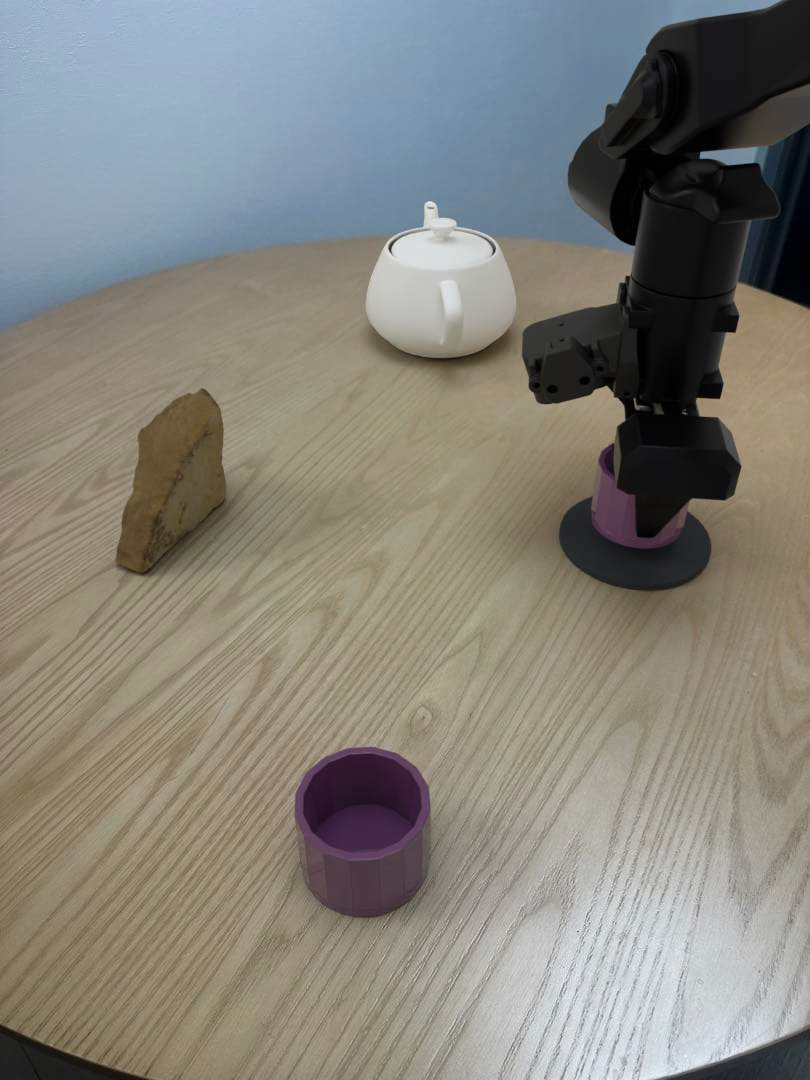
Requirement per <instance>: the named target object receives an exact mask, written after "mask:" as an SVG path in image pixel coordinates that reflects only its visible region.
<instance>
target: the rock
mask: <svg viewBox="0 0 810 1080" xmlns="http://www.w3.org/2000/svg"><path fill="white" fill-rule="evenodd" d="M224 430H225V429H224V422H223V416H222V410H221V407H220V406H219V404H218V403H217V401H216V400H215V399H214V397H213V396H212V395H211V393H210V392H209V391H208V390H206V389H205V388H203V387H201V388H199V389H198V390H197V391H196V392H195V393H190V392H187V393H185V394H183V395H180V396H179V397H176V398H174V399H173V400H172V401H171V402H170V403H169V404H168V405H167V406H165V407H164V408H163V409H162V411H160V412H159V413H157V414H155V416H154V417H153V418H152V420H151V421H150V422H149V423H147V424H146V426H144V427H141V428H140V430H139V431H138V434H137V440H136V441H137V443H138V459H137V463H136V466H135V470H134V477H133V480H132V493H131V495H130V497H129V498H128V499H127V501H126V502H125V505H124V509H123V511H122V515H121V516H122V517H121V522H120V523H121V524H120V525H121V533H120V536H119V539H118V542H117V546H116V556H115V559H114V562H115V563H116V564H117V565H119V566H123V567H124V568H127V569H129V570H131V571H133V572H136V573H140V574H141V573H143V574H144V573H145V572H147V571H148V570H149V569H151V568H152V567H153V566H154V565H155V564H156V563H157V562H158V561H159V559H161V558H162V556H163V555H164V554H166V553H167V552H168V551H170V549H171V548H173V547H174V546H176V544H177V542H178V541H180V540H181V539H182V538H183V537H184V536H185V535H186V534H188V533H190V532H191V531H193V530H194V529H196V527H197V526H198V525H199V524H200V523H202V521H204V520H205V519H206V517H207V516H209V514H210V513H211V512H212V510H214V509H215V508H217V507H219V505H221V504H222V503H223V502H224V501H225V498H226V497H227V480H226V475H225V470H224V466H223V449H224V434H225V431H224Z"/></svg>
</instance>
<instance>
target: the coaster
mask: <svg viewBox="0 0 810 1080" xmlns="http://www.w3.org/2000/svg"><path fill="white" fill-rule="evenodd" d="M592 499H593V495H592V496H590V497H586V498H584V499H582V500H580V501H579V502H577V503H575V504H574V505H572V506H571V507H570V508H569V509H568V510H567V511H566V512H565V514H564V515H563V517H562V519H561V521H560V525H559V530H558V539H559V544H560V546H561V549H562V551H563V552H564V554H565V556H566V557H567V558H568V559H569V561H570V562H571V563H572V564H574V565H575V567H577V568H578V569H579V570H581V572H583V573H584V574H587V575H589V576H590V577H592V578H594V579H596V580H598V581H601V582H602V583H606V584H609V585H612V586H616V587H619V588H624V589H630V590H638V591H658V590H659V591H660V590H666V589H671V588H676V587H679V586H682V585H684V584H687V583H688V582H691V581H692V580H694V579H696V578H697V577H698V576H699V575H700V574H702V573H703V571H704V570H705V568H706V567H707V565H708V564H709V563H710V562H709V561H710V558H711V554H712V541H711V537H710V535H709V532H708V531H707V529H706V527H705V526H704V525H703V523H702V522H701V521H700V520H699V519H698V518H697V517H696V516H694V515H693V514H692V513H691V512H689V511H688V510H687V514H686V519H685V523H684V527H683V530H682V533H681V535H680V536H679V537H678V538H677V539H676V540H675V541H674V542H672V543H670V544H668V545H666V546H663V547H659V548H652V549H639V548H631V547H627V546H623V545H620V544H617V543H615V542H612V541H610V540H608V539H607V538H605V537H604V536H602V535H601V534H600V533H599V532H598V531H597V530H596V529H595V527H594V526H593V524H592V521H591V505H592Z"/></svg>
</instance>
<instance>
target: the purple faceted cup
mask: <svg viewBox="0 0 810 1080" xmlns="http://www.w3.org/2000/svg"><path fill="white" fill-rule="evenodd" d="M430 796H431V795H430V787H429V785H428V783H427V782H426V780H425V778H424V777H423V775H422V773H421V772H420V770H419V768H418V767H417V766H416V765H415V764H413V763H412V762H410V761H409V760H408V759H406V758H405V757H403V756H402V755H401V754H400V753H397V752H395V751H390V750H387V749H384V748H379V747H377V746H376V747H375V746H361V747H348V748H345V749H342V750H339V751H336V752H333V753H331V754H329V755H326V756H324V757H322V759H321V760H319V761H318V762H317V763H316V764H315V765H313V766H312V767H310V768H309V770H307V771H306V772H305V774H304V776H303V778H302V779H301V782H300V783H299V785H298V787H297V789H296V791H295V794H294V813H293V814H294V822H295V831H296V840H297V847H298V853H299V854H298V855H299V862H300V867H301V870H302V874H303V878H304V881H305V884H306V885H307V887H308V888H309V890H310V892H311V893H312V894H313V896H314V897H315V898H316V899H317V900H318V901H319V902H320V903H321V904H323V905H324V906H326V907H327V908H328V909H331V910H333V911H334V912H337V913H339V914H341V915H342V914H343V915H345V916H350V917H356V918H357V917H358V918H360V917H362V918H363V917H364V918H365V917H367V918H368V917H369V918H370V917H375V916H380V915H385V914H387V913H390V912H392V911H394V910H396V909H398V908H400V907H402V906H403V905H404V904H405V903H407V902H409V900H410V899H411V898H413V897H414V896H415V894H416V893H417V892H418V891H419V890H420V888H421V886H422V884H423V883H424V880H425V878H426V876H427V873H428V869H429V862H430V857H431V853H430V852H431V813H432V812H431V810H432V809H431V808H432V806H431V797H430Z"/></svg>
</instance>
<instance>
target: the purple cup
mask: <svg viewBox="0 0 810 1080" xmlns="http://www.w3.org/2000/svg"><path fill="white" fill-rule="evenodd" d="M614 443H615V442H612V443H610V444H608V445H607V446H606V447H605V448H603V449H602V450H601V451H600V454H599V456H598V460H597V467H596V473H595V479H594V486H593V493H592V496H593V499H592V505H591V521H592V524H593V526H594V527H595V529H596V530H597V531H598V532H599V533H600V534H601V535H602V536H604V537H605V538H607V539H608V540H610V541H612V542H615V543H617V544H620V545H623V546H627V547H631V548H639V549H652V548H659V547H663V546H666V545H668V544H670V543H672V542H674V541H675V540H676V539H677V538H678V537H679V536H680V535H681V533H682V530H683V527H684V523H685V519H686V514H687V511H688V510H689V506H690V501H689V502H688V503H687V504H686V505H685V506H684V507H683V508H682V509H681V510H680V511H679V512H678V513H677V514H676V515H675V516H674V517H673V518H672V520H671V521H670V522H669V523H668V524H667V525H666V526H665V527H664V528H663V529H662V530H661V531H660V532H659V533H658V534H657V535H656V536H655V537H654V538H640V537H637V535H636V522H635V499H634V495H628V494H626V493H624V492H622V491H621V490H619V489H617V488H616V480H615V471H614V463H613V454H612V445H614Z"/></svg>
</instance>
